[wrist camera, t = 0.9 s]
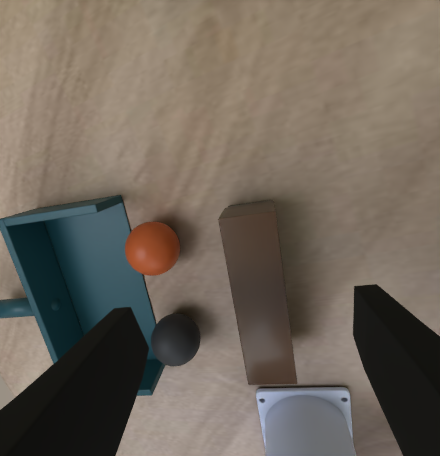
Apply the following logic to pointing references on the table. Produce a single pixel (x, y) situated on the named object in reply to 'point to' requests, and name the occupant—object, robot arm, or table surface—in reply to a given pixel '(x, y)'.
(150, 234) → the rust ball
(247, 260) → the brown bar
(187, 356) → the charcoal ball
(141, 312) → the pusher tool
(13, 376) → the table surface
